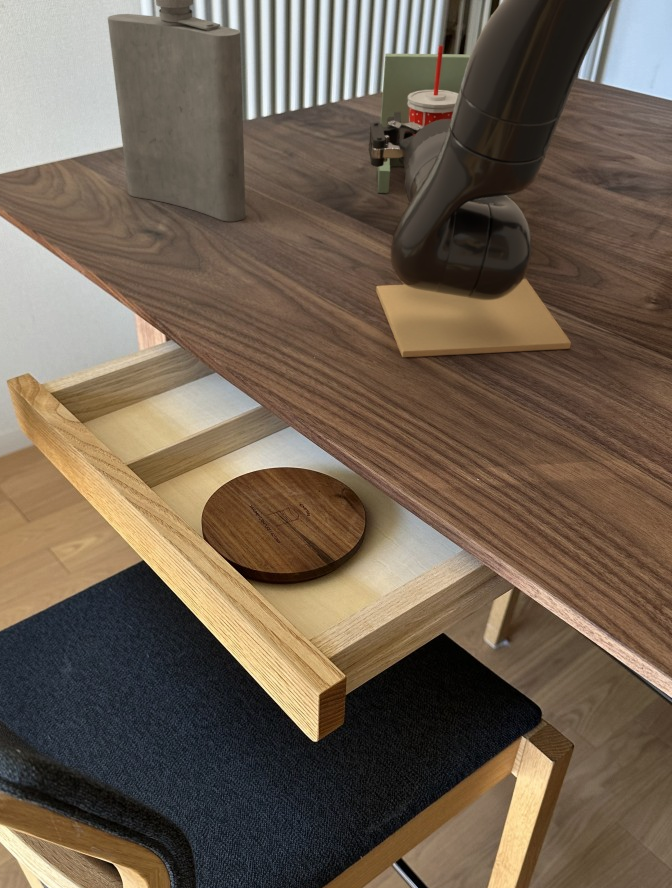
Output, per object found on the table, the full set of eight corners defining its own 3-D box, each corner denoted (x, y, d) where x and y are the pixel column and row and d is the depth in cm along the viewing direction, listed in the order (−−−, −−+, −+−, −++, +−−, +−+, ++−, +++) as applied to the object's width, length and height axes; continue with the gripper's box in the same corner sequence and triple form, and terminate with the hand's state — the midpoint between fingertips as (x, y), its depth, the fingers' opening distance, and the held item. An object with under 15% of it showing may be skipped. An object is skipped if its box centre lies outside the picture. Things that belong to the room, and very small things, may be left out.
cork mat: (525, 284, 79) (526, 278, 78) (569, 349, 70) (571, 342, 69) (376, 291, 78) (376, 285, 78) (402, 357, 69) (402, 351, 69)
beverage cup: (461, 177, 100) (479, 43, 91) (439, 193, 96) (455, 55, 87) (414, 168, 103) (427, 36, 93) (391, 183, 99) (402, 47, 90)
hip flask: (122, 193, 97) (97, -12, 84) (146, 183, 100) (125, -18, 86) (234, 223, 90) (225, 5, 77) (256, 211, 93) (251, -2, 79)
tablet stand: (471, 164, 103) (487, 54, 95) (479, 195, 96) (497, 78, 88) (377, 163, 104) (385, 53, 96) (377, 193, 97) (386, 76, 89)
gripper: (532, 134, 76) (510, 85, 88) (372, 131, 77) (371, 83, 89) (517, 217, 81) (497, 160, 93) (366, 214, 82) (367, 158, 94)
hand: (436, 123), depth 91 cm, fingers open, 8 cm apart
